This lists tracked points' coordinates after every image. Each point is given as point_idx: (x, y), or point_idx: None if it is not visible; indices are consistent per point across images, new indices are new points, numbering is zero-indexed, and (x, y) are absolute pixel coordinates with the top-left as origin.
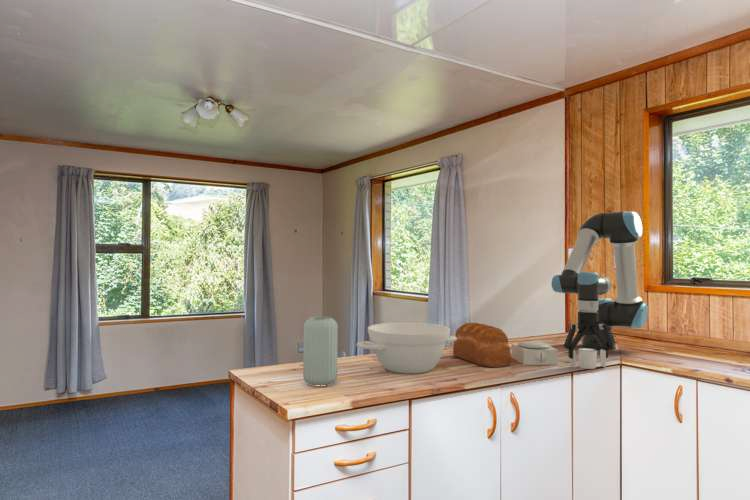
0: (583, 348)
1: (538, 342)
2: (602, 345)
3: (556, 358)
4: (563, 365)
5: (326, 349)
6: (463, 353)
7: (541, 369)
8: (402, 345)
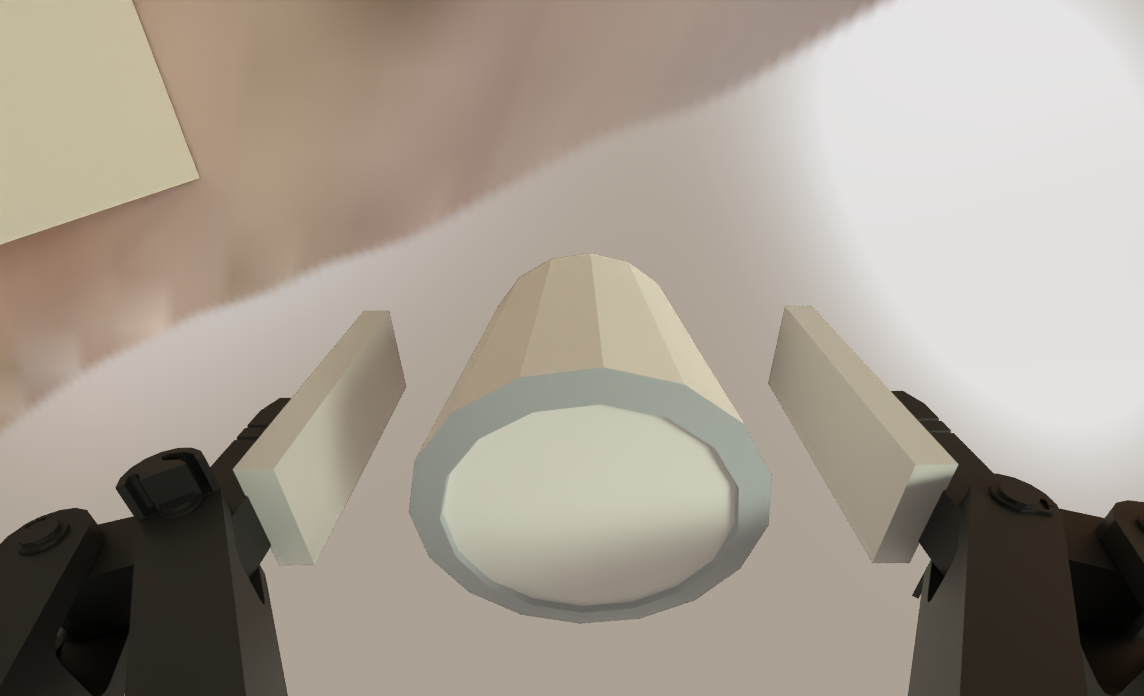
0: (562, 407)
1: None
2: (924, 635)
3: (106, 203)
4: (284, 233)
5: None
6: None
7: (4, 418)
8: None
